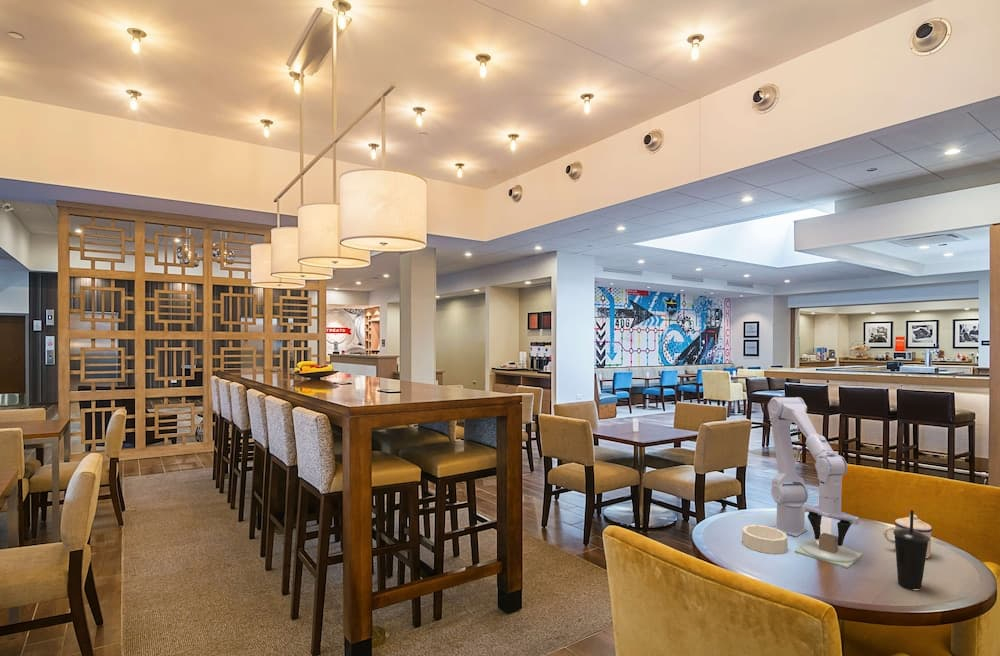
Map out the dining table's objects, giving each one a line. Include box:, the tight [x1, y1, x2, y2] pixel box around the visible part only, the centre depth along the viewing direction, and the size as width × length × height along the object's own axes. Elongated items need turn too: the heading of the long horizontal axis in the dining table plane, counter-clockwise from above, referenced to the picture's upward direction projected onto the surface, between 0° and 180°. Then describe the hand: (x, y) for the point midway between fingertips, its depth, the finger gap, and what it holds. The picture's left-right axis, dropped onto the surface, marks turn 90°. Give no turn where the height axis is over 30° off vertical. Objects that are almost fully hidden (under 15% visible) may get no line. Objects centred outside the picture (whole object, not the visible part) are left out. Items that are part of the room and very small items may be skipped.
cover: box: [801, 532, 857, 563], centre depth 163 cm, size 14×14×5 cm
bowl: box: [741, 524, 789, 555], centre depth 168 cm, size 12×12×4 cm
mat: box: [793, 538, 864, 570], centre depth 163 cm, size 14×14×1 cm
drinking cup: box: [892, 509, 930, 590], centre depth 143 cm, size 8×8×20 cm
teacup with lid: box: [883, 514, 933, 557], centre depth 165 cm, size 12×9×12 cm
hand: (828, 541), depth 163 cm, fingers open, 5 cm apart
